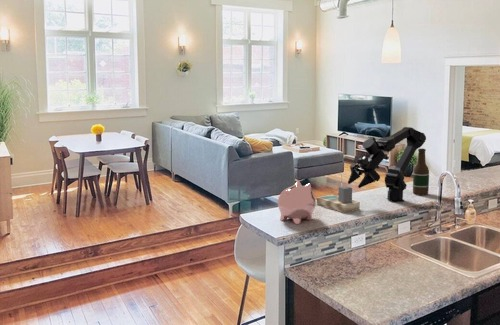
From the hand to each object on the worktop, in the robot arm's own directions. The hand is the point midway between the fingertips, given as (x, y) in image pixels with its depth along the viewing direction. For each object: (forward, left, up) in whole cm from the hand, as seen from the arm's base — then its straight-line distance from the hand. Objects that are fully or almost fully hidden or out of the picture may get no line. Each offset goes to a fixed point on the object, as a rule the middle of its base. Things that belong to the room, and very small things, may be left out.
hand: (353, 185), depth 225 cm
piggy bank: (+30, +12, -11) cm, 34 cm away
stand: (+6, -4, -11) cm, 13 cm away
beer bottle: (-43, -20, -11) cm, 49 cm away
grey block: (+4, +1, -8) cm, 9 cm away
